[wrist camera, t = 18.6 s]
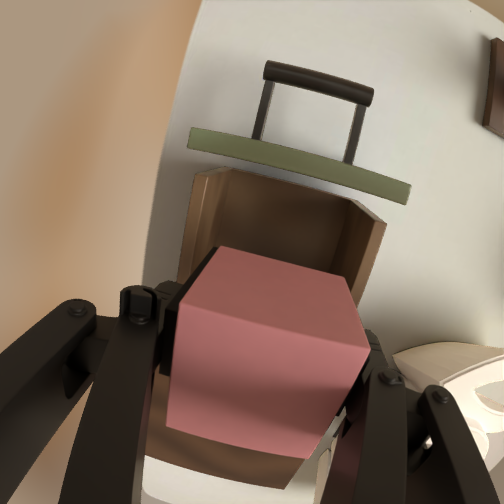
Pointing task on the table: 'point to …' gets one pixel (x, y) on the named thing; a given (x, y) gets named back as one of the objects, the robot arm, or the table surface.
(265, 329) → the block
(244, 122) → the table surface
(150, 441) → the cabinet
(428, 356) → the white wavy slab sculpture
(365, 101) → the drawer
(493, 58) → the stand
